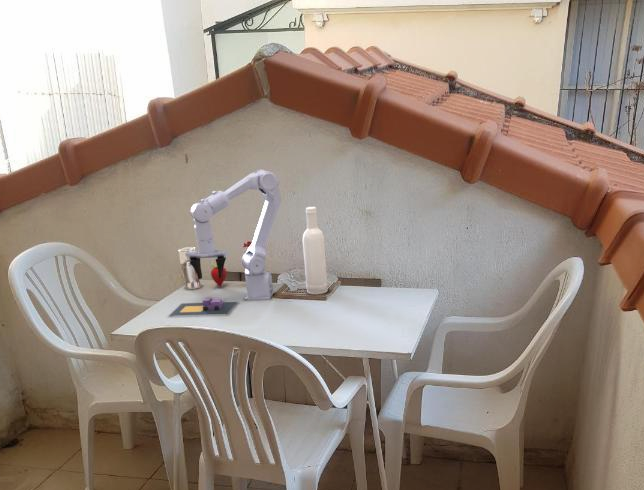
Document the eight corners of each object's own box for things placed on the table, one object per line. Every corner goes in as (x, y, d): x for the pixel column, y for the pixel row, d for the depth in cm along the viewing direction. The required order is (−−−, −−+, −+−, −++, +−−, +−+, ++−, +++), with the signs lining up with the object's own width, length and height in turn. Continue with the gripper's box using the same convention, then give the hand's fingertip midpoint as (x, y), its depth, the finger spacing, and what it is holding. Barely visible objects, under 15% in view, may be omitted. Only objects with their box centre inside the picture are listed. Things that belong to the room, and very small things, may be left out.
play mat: (237, 302, 252) (237, 301, 252) (227, 315, 240) (226, 314, 240) (182, 304, 255) (182, 303, 255) (169, 316, 243) (169, 315, 243)
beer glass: (194, 290, 271) (187, 251, 264) (181, 288, 275) (174, 250, 268) (205, 285, 276) (199, 247, 269) (192, 284, 280) (186, 246, 273)
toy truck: (223, 305, 248) (222, 296, 247) (219, 310, 244) (218, 300, 242) (206, 306, 250) (205, 297, 248) (202, 310, 245) (200, 301, 243)
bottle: (330, 288, 259) (324, 205, 245) (325, 294, 252) (319, 209, 238) (309, 288, 261) (302, 205, 247) (304, 294, 254) (297, 210, 240)
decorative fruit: (230, 283, 276) (227, 258, 271) (224, 288, 269) (220, 263, 264) (216, 283, 277) (212, 258, 272) (210, 289, 270) (206, 263, 266)
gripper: (181, 242, 239) (187, 281, 245) (221, 241, 236) (227, 280, 243) (187, 238, 245) (194, 276, 252) (227, 236, 243) (232, 275, 249)
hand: (210, 278), depth 248 cm, fingers open, 7 cm apart
